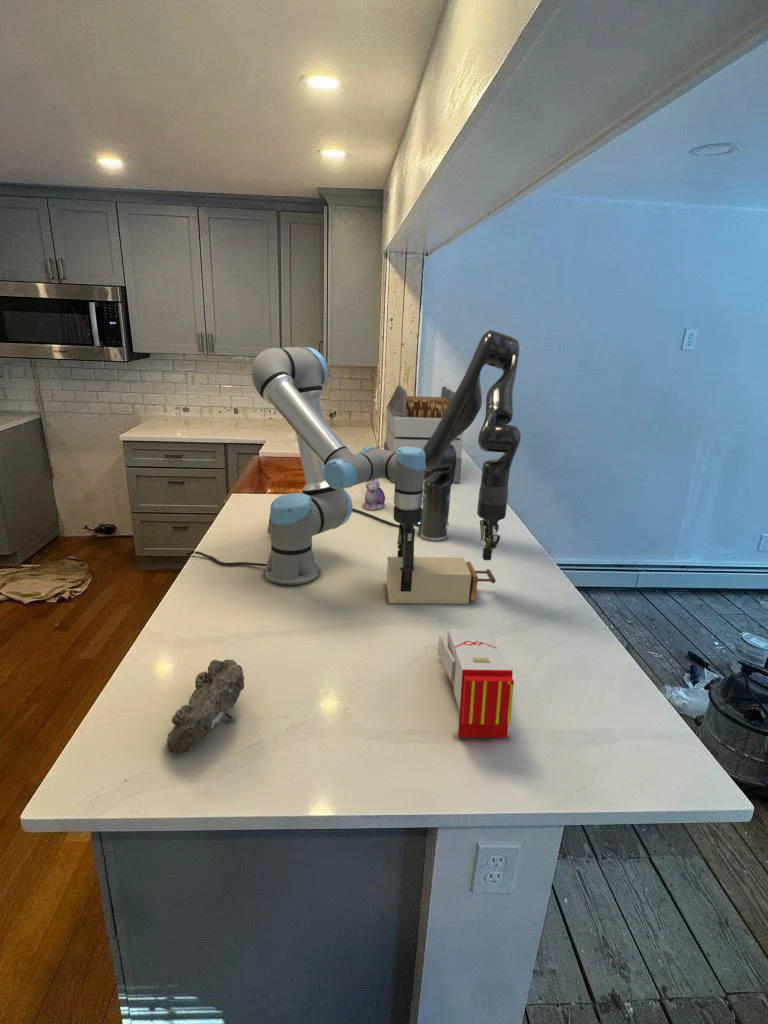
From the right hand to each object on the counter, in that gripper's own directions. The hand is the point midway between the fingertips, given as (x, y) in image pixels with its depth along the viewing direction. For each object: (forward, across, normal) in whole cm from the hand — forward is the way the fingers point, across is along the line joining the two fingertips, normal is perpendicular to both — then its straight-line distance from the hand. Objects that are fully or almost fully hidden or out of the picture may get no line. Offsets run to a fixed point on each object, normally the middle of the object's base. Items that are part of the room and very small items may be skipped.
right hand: (486, 559), depth 156 cm
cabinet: (+11, 0, +16) cm, 19 cm away
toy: (+11, -43, +13) cm, 46 cm away
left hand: (+7, 0, +23) cm, 24 cm away
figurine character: (+10, +44, +61) cm, 76 cm away
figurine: (+10, +73, +27) cm, 78 cm away
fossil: (+11, -50, +64) cm, 82 cm away
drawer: (+10, 0, +11) cm, 14 cm away
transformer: (+10, +123, +2) cm, 124 cm away
